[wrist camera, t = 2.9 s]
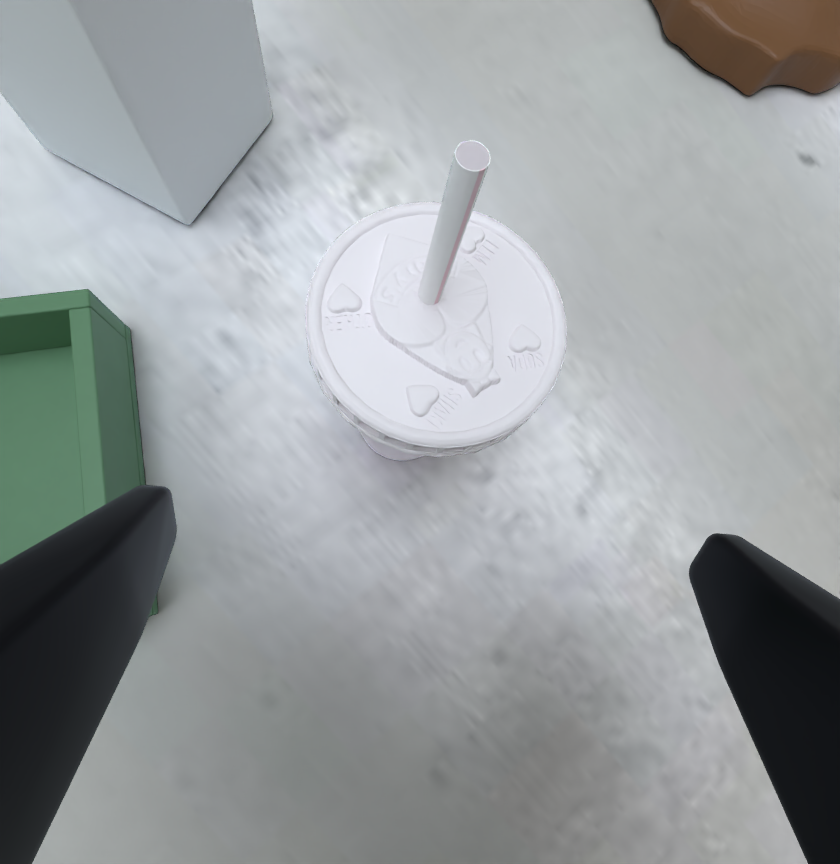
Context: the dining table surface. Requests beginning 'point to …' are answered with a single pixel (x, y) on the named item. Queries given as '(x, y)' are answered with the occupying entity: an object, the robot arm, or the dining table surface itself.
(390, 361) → the smoothie
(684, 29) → the plant
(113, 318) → the caddy
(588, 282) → the dining table surface
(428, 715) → the dining table surface
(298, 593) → the dining table surface
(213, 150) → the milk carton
